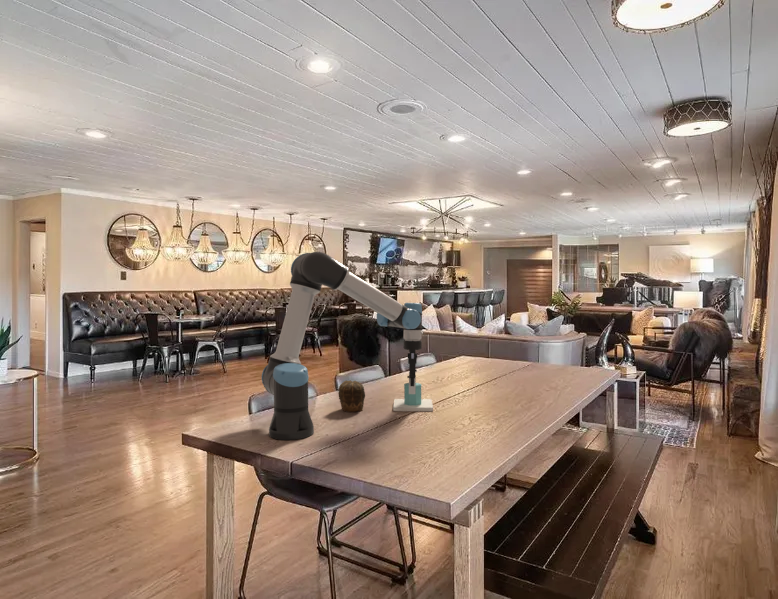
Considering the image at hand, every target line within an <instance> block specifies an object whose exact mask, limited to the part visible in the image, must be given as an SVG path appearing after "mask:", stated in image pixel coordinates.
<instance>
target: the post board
mask: <svg viewBox="0 0 778 599" xmlns="http://www.w3.org/2000/svg"><path fill="white" fill-rule="evenodd" d="M392 410H393V412H433V411H434V405H433V400H432V398H421V405H405V404H404V398H394V401H393V408H392Z"/></svg>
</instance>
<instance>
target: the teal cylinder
mask: <svg viewBox="0 0 778 599" xmlns="http://www.w3.org/2000/svg"><path fill="white" fill-rule="evenodd" d="M403 387H404V390H403V391H404V396H403V399H404V404H405V405H421V399H422V383H419V382H416V390H415V394H409V382H406V383H404V384H403Z"/></svg>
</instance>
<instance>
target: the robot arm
mask: <svg viewBox="0 0 778 599" xmlns="http://www.w3.org/2000/svg"><path fill="white" fill-rule="evenodd" d="M290 273H291V277H290V282H289V286H290V287H291V294H290V298H289V301H288V305H287V308H286V312H285V316H284V320H283V324H282V328H281V330H280V335H279V338H278V342H277V345H276V349H275V352H274V353H273V354H270V356H269V359H268V362H267V365H266V366H265V367H264V368H263V370H262V373H261V383H262V385H263V387H264V388H265V390H266V391H267V392H268V393H269V394H271V395H273V414H272V418H271V420H270V424H269V427H268V435H269V437H270V438H271V439H272V438H273V439H276V440H280V441H281V440H282V441H284V440H285V441H287V440H288V441H290V440H291V441H295V440H300V439H305V438H308V437H310V436H312V435H314V432H315V428H314V423H313V420H312V417H311V414H310V412H309V377H310V376H309V372H308V370H309V369H308V368H307V367H306V366H305V365H303V364H302V362H301V360H300V358H299V357H300V352H301V348H302V346H303V342H304V338H305V333H306V331H307V328H308V327H307V326H308V323H309V320H310V314H311V312H312V308H313V304H314V299H315V297H316V295H318V294H320V293H321V290H322V286H325V287H327V288H329V289H331V290H333V291H337V290H338V291H340V292H342V293H343V294H345V295H346V296H349V297H351V298H352V299H353V300H355V301H357V302H358V303H360V304H362V305H364V306H365V307H367V308H369V309H371V310H372V311H374V312H375V313H376V321H377V322H376V323H377V324H378V326H380V327H393V328H394V327H395V328H401V329H403V349H404V350H408V353H407V359H408V361H407V363H408V365H409V366H408V371H409V372H408V375H407V379H408V383H409V394H415V390H416V383H417V382H416V380H417V379H416V377H417V375H416V373H417V369H416V367H417V366H416V365H417V361H418V360H417V359H418V353H416V351H420V350H421V349H422V346H423V345H422V344H423V343H422V342H423V341H422V339H423V338H422V335H424V332H423V331H422V328H423V306H422V303H420V302H405V303H404V304H402V303H400V302H399V301H398V300H395V299H394V298H393V297H391V296H389V295H388V294H386V293H384V292H383V291H381V290H380V289H378V288H377V287H375V286H373V285H372V284H370V283H368V282H367V281H365V280H363V279H362V278H360V277H359V276H357V275H355V274H354V273H352V272H351V271H349V267H348V266H347V265H344V264H343V263H341V262H340V261H339V260H337V259H335V258H334V257H332V256H331V255H329V254H327V253H326V252H322V251H312V252H305V253H301V254H300V255H298V256H297V257H296V258H295V259H294V260H293V261H292V264H291V266H290Z"/></svg>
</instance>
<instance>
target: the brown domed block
mask: <svg viewBox="0 0 778 599" xmlns="http://www.w3.org/2000/svg"><path fill="white" fill-rule="evenodd" d="M365 398H366V392H365V387H364V385H363V384H362V383H361V382H360V381H357V380H344V381H343V382H341V384H340V385H339V387H338V399H339V402H340V407H341V409H342V411H343V412H346V411H347V412H348V413H356V412H357V411H358V412H362V411H363V409H364V404H365V403H364V402H365ZM347 412H346V413H347Z"/></svg>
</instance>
